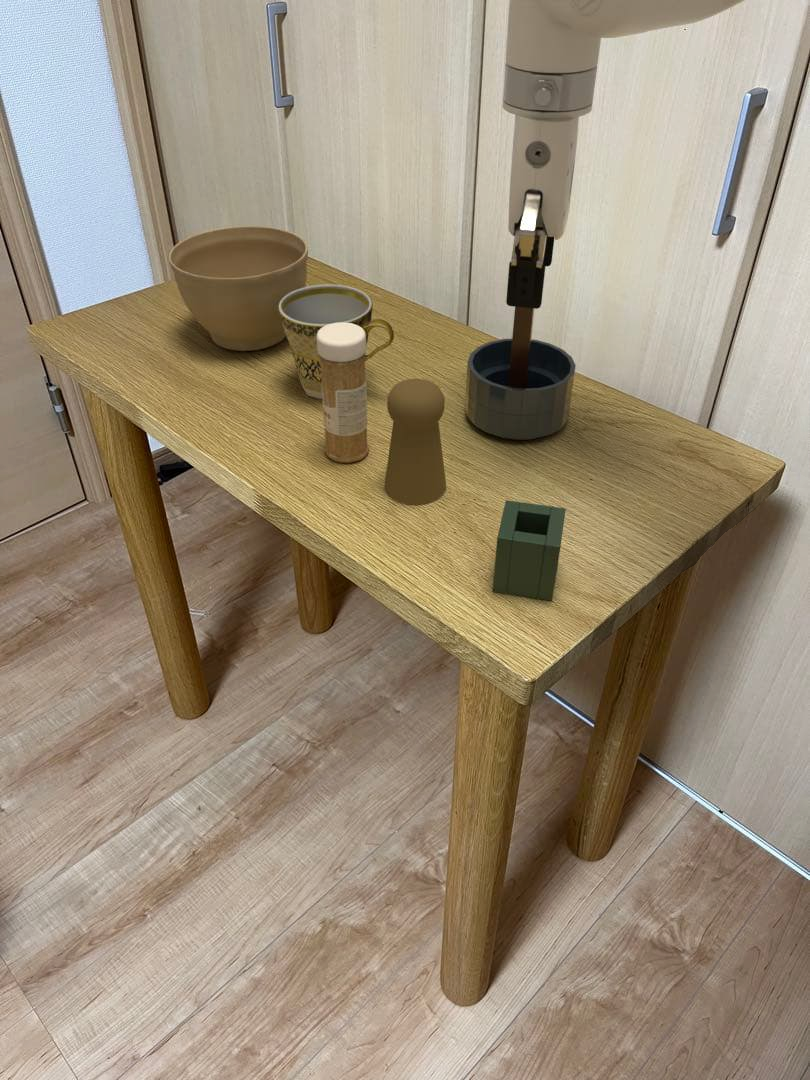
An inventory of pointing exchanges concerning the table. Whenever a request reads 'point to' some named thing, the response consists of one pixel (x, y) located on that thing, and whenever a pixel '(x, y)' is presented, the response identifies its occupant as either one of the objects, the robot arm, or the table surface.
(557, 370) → the mixing bowl
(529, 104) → the robot arm
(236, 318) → the planter bowl
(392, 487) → the brown peg doll
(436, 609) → the table surface
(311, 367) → the ceramic cup
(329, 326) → the sprinkles bottle
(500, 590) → the stick holder
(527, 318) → the stirring stick
